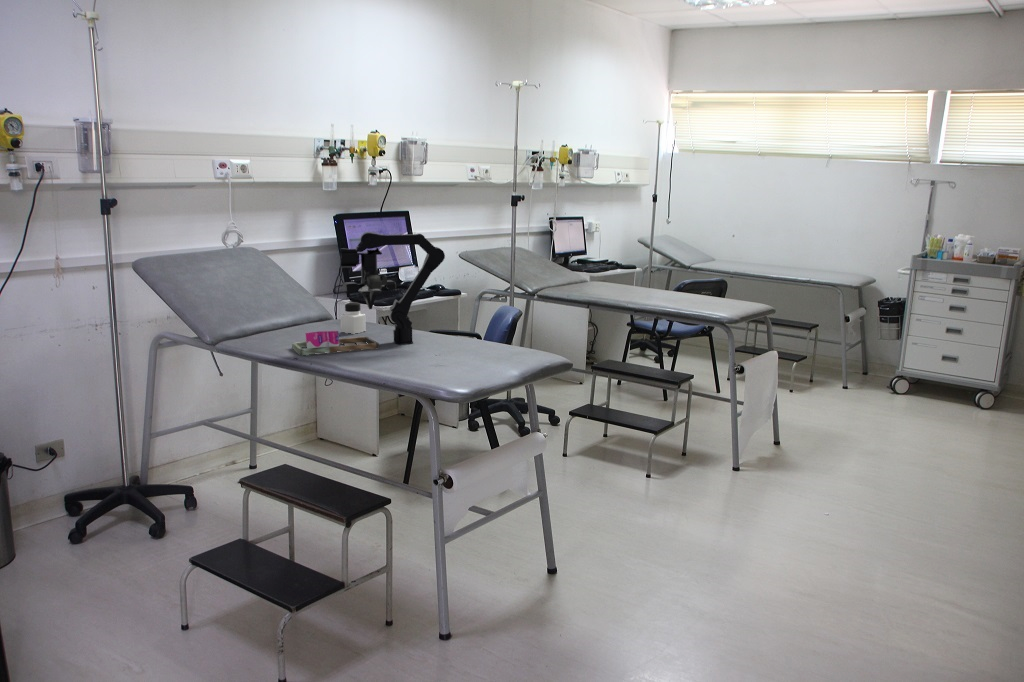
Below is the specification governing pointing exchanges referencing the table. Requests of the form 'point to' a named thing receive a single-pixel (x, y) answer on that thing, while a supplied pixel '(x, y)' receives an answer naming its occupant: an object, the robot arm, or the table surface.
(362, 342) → the box
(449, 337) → the table surface
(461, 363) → the table surface
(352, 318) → the medicine bottle
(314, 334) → the supplement box
